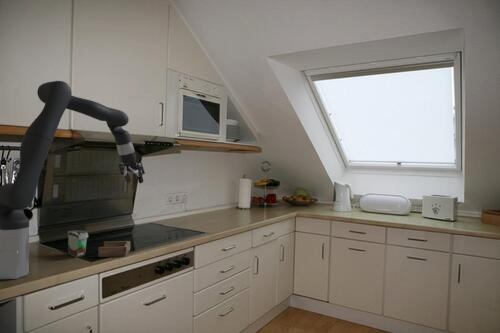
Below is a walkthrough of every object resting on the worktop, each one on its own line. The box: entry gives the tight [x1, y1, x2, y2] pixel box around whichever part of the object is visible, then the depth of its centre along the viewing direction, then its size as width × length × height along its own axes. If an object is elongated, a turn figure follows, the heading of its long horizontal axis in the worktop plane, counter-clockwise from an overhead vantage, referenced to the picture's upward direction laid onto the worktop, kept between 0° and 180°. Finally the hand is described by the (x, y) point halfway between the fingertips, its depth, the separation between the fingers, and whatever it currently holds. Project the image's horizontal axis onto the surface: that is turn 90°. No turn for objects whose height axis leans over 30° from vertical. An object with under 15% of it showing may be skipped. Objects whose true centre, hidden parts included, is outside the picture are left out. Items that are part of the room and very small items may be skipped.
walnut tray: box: [97, 240, 131, 258], centre depth 158 cm, size 12×12×4 cm
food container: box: [67, 230, 89, 258], centre depth 155 cm, size 12×6×10 cm, turn 48°
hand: (135, 182), depth 175 cm, fingers open, 8 cm apart
